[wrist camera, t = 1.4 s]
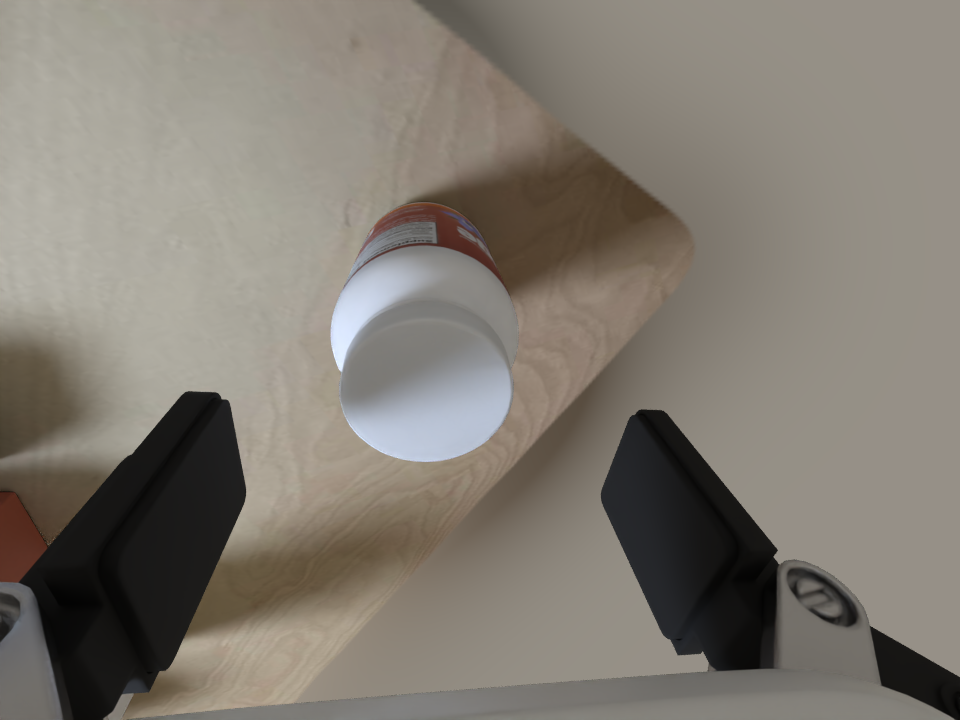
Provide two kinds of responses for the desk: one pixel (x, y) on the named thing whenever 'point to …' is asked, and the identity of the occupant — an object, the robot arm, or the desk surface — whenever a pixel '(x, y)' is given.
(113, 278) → the desk surface
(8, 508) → the block
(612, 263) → the desk surface
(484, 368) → the pill bottle
